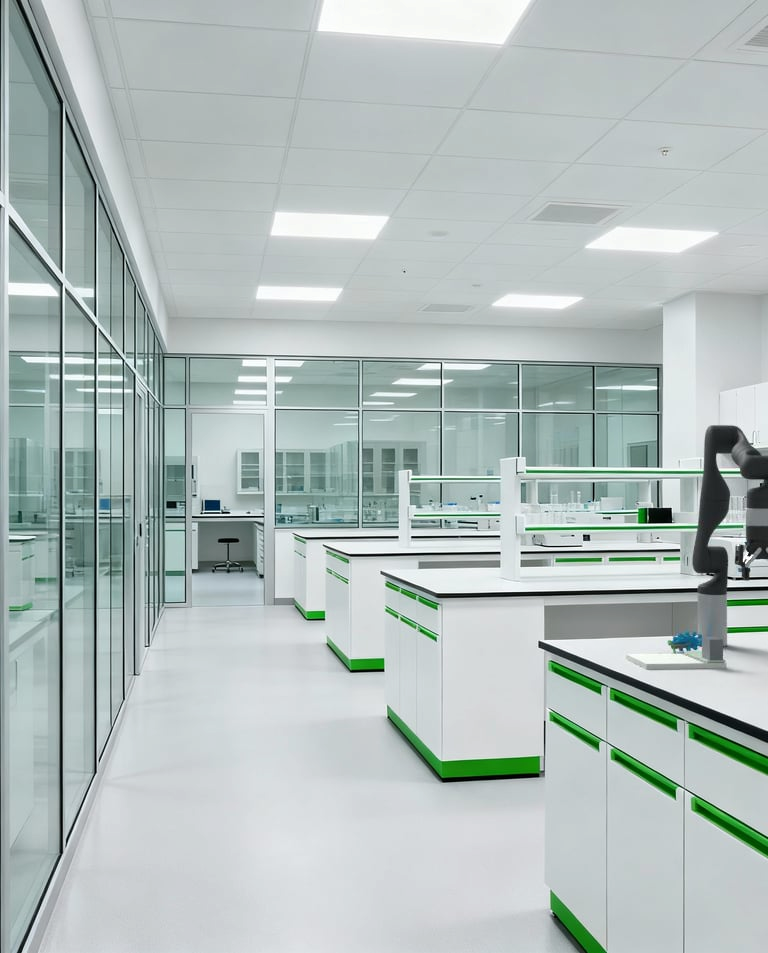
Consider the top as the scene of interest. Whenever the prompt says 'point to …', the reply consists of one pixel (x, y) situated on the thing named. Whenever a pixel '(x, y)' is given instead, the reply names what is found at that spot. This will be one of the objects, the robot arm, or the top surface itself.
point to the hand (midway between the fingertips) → (760, 580)
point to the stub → (709, 650)
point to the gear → (685, 641)
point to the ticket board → (671, 661)
